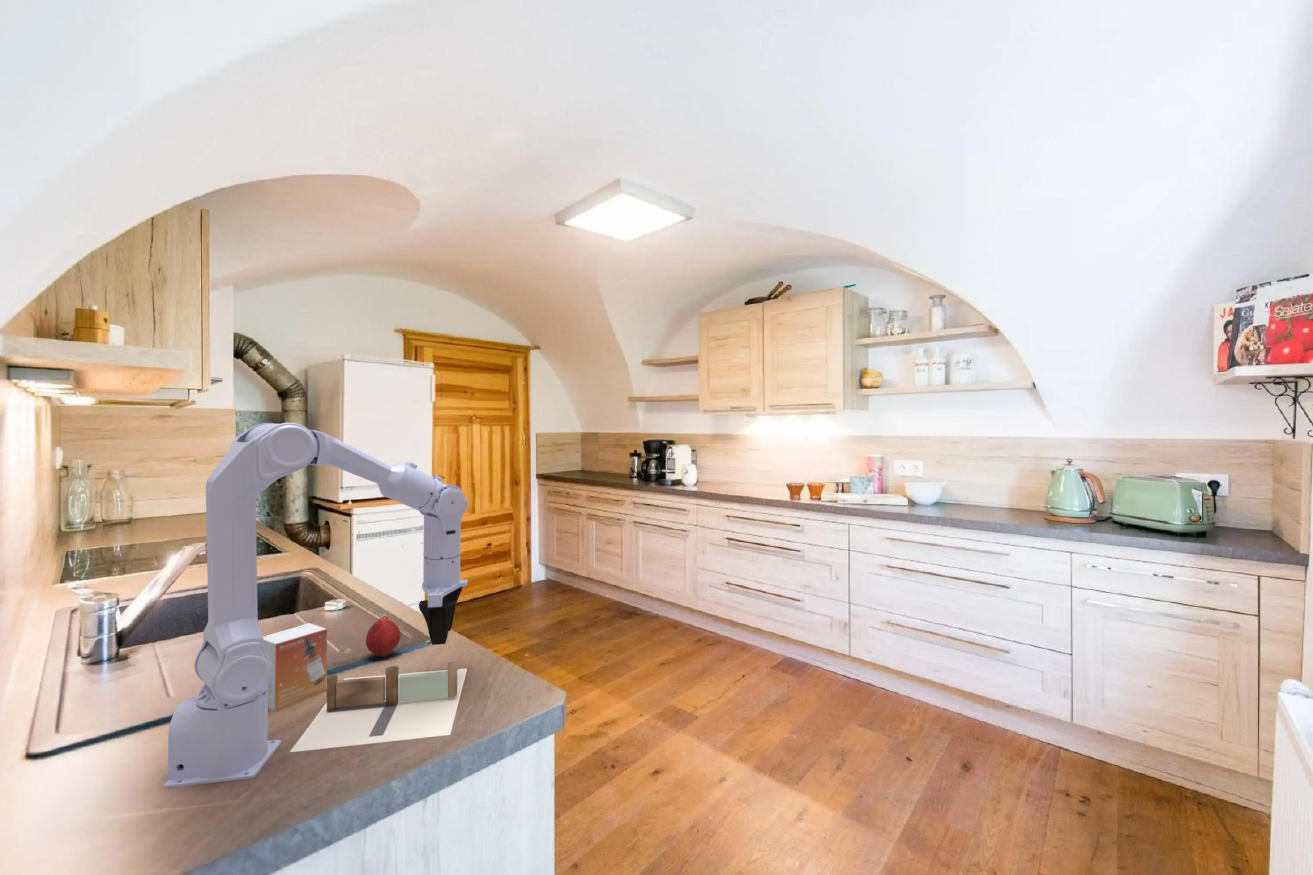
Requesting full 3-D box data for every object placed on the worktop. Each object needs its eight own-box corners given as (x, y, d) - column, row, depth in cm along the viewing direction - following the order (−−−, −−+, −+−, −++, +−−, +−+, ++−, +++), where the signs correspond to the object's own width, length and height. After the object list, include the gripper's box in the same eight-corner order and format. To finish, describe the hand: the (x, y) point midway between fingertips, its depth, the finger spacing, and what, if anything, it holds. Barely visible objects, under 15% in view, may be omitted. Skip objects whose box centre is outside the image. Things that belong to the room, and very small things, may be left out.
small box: (273, 713, 83) (274, 644, 83) (255, 704, 86) (255, 636, 85) (328, 692, 90) (328, 627, 90) (309, 683, 93) (309, 621, 92)
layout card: (289, 754, 72) (289, 751, 72) (344, 680, 94) (344, 678, 94) (450, 736, 77) (450, 734, 77) (467, 669, 98) (467, 667, 98)
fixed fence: (324, 712, 83) (325, 676, 82) (329, 707, 84) (329, 671, 84) (396, 706, 85) (397, 670, 85) (399, 700, 87) (399, 665, 86)
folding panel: (398, 702, 85) (398, 669, 85) (400, 697, 86) (400, 666, 86) (456, 696, 87) (456, 665, 87) (457, 692, 88) (457, 661, 88)
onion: (375, 666, 100) (375, 622, 99) (360, 658, 103) (360, 615, 103) (406, 656, 104) (406, 614, 104) (390, 648, 108) (391, 607, 108)
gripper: (462, 565, 85) (461, 652, 86) (471, 545, 99) (471, 620, 100) (413, 567, 84) (413, 655, 84) (430, 547, 98) (429, 623, 98)
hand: (441, 637), depth 92 cm, fingers open, 5 cm apart
